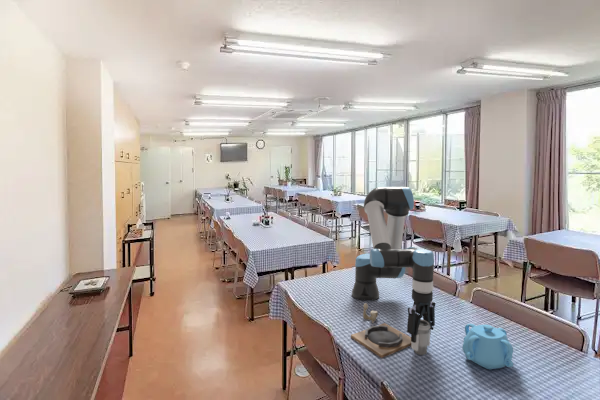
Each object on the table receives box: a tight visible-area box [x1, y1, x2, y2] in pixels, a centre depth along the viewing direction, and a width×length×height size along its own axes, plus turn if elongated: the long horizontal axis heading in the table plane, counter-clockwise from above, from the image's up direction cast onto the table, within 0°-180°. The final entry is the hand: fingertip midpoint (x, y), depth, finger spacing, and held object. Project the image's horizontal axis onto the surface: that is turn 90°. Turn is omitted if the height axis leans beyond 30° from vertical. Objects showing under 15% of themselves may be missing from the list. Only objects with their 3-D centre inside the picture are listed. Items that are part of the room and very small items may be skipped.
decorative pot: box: [462, 323, 514, 370], centre depth 123 cm, size 16×16×14 cm
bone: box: [362, 302, 379, 324], centre depth 156 cm, size 9×6×10 cm
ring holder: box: [350, 322, 411, 359], centre depth 138 cm, size 20×18×3 cm
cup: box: [413, 318, 430, 356], centre depth 129 cm, size 7×7×12 cm
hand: (420, 346), depth 129 cm, fingers closed on cup, 6 cm apart
